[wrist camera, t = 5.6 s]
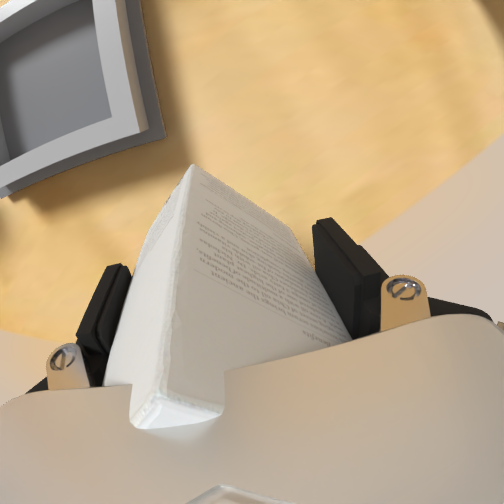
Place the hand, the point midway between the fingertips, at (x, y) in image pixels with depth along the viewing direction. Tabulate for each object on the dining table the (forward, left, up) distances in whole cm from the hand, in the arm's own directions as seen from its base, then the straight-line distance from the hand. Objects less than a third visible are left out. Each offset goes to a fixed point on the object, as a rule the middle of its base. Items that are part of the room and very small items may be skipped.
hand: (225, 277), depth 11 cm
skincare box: (0, 0, -5) cm, 5 cm away
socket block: (+11, -13, -14) cm, 21 cm away
